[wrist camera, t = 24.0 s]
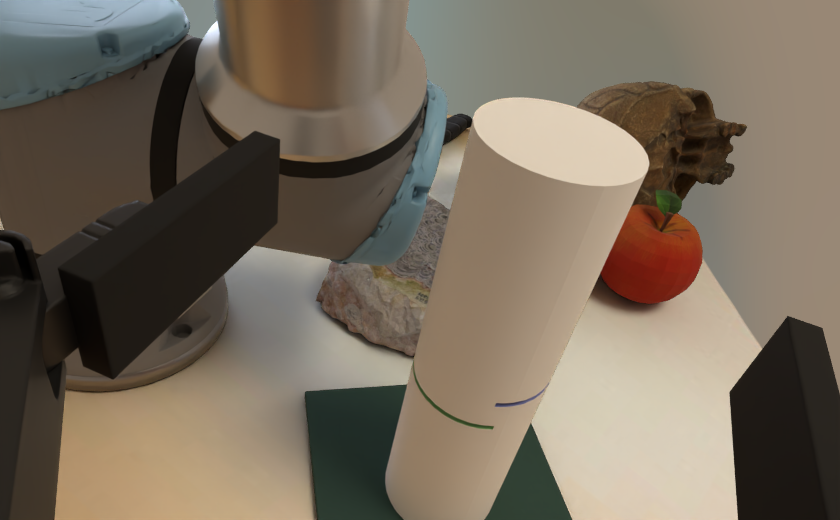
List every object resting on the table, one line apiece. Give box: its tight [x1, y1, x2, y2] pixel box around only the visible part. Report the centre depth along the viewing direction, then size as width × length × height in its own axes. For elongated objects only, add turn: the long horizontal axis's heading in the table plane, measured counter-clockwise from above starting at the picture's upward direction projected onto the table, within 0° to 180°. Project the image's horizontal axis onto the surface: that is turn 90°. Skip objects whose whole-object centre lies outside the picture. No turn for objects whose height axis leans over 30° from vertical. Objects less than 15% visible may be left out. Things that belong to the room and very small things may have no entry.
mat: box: [305, 385, 572, 520], centre depth 40 cm, size 16×16×1 cm
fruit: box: [600, 190, 702, 304], centre depth 58 cm, size 10×10×10 cm
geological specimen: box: [316, 196, 450, 356], centre depth 52 cm, size 11×6×15 cm
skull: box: [577, 81, 747, 207], centre depth 71 cm, size 20×18×16 cm
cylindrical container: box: [385, 98, 649, 520], centre depth 32 cm, size 7×7×25 cm
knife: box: [443, 114, 472, 144], centre depth 73 cm, size 25×2×5 cm
